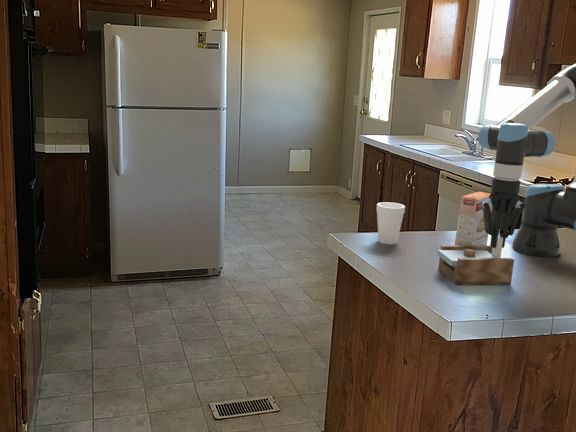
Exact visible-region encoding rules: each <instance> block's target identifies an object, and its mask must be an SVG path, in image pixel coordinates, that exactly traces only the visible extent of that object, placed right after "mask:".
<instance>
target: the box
mask: <svg viewBox="0 0 576 432" xmlns="http://www.w3.org/2000/svg"><path fill="white" fill-rule="evenodd" d="M464 249H472V250H486V251H488V252H489V253H491V254H492V247H491V246H490V245H487V246H485V245H455V244H453V245H452V244H440V250H464ZM514 264H515V259H514V258H511V257H500V258H458V263H457V266H450V265H449V264H448V263H447V262H445V261H444V260H443V259H442V258H440V257H439V261H438V267H437V269H438V270H439V271H440V272H441V271H442V272H443V273H442V272H441V273H442V274H444V275H445V276H446V277H447V278H448V279H450V280H451V281H452V282H453V283H454V284H455V285H457V286H511V285H512V278H513V271H514V266H515V265H514Z"/></svg>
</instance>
